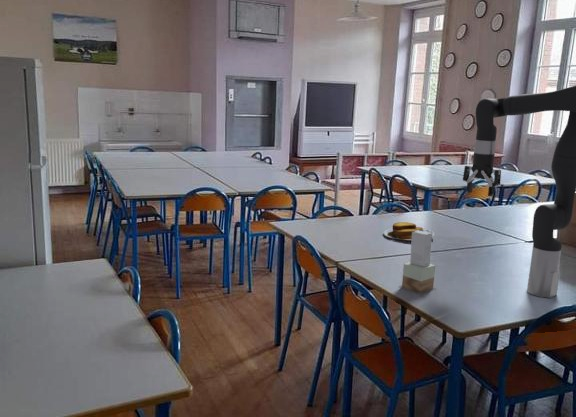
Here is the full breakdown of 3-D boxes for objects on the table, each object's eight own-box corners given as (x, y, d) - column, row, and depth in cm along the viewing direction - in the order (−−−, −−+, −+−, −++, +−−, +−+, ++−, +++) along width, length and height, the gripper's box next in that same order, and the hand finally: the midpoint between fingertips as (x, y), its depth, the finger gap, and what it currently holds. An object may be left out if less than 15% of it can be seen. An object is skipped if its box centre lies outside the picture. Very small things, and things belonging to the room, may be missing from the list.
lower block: (433, 288, 196) (434, 277, 195) (420, 293, 191) (421, 281, 190) (414, 282, 202) (415, 271, 201) (401, 286, 197) (402, 275, 196)
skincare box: (430, 265, 194) (433, 232, 191) (423, 267, 191) (426, 234, 188) (415, 261, 198) (418, 229, 196) (408, 263, 195) (411, 231, 192)
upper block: (434, 277, 195) (435, 265, 194) (421, 281, 190) (422, 269, 189) (415, 271, 201) (416, 259, 200) (402, 275, 196) (403, 263, 195)
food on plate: (427, 247, 253) (429, 233, 252) (377, 239, 264) (377, 226, 262) (438, 235, 275) (439, 223, 274) (391, 228, 286) (392, 216, 285)
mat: (436, 289, 196) (436, 288, 196) (420, 295, 189) (420, 294, 189) (414, 282, 203) (414, 281, 203) (397, 287, 197) (398, 286, 197)
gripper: (507, 153, 200) (502, 196, 203) (472, 150, 210) (468, 190, 214) (497, 154, 195) (492, 198, 198) (462, 150, 205) (457, 192, 209)
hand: (479, 194), depth 206 cm, fingers open, 8 cm apart
